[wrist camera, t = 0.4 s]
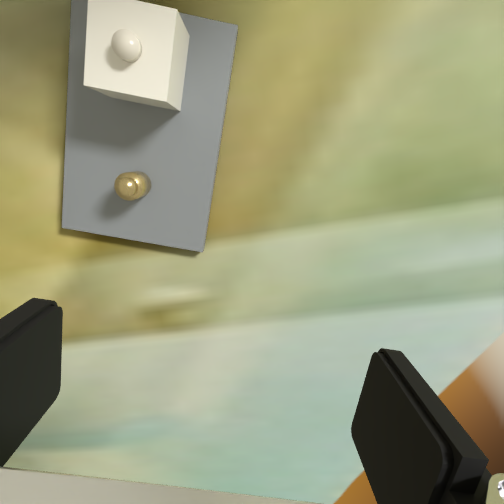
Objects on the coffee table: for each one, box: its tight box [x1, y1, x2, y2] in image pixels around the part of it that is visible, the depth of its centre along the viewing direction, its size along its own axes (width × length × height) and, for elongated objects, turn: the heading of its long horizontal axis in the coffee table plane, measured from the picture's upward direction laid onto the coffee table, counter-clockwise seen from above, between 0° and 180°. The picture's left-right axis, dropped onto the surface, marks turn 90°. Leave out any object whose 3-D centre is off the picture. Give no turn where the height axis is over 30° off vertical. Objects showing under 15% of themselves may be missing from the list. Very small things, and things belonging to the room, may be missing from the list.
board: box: [62, 0, 238, 252], centre depth 35 cm, size 22×15×1 cm
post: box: [114, 171, 151, 201], centre depth 33 cm, size 3×3×4 cm
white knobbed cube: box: [84, 0, 190, 111], centre depth 29 cm, size 7×7×7 cm
